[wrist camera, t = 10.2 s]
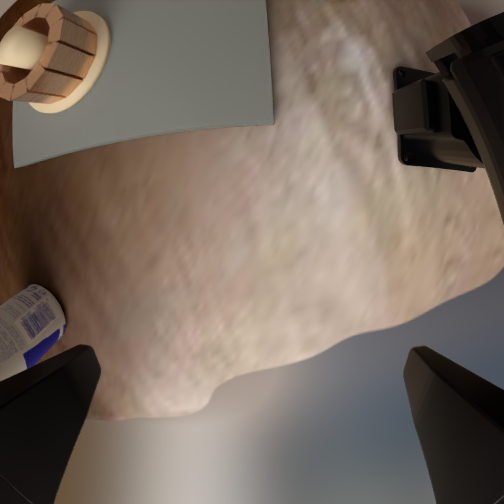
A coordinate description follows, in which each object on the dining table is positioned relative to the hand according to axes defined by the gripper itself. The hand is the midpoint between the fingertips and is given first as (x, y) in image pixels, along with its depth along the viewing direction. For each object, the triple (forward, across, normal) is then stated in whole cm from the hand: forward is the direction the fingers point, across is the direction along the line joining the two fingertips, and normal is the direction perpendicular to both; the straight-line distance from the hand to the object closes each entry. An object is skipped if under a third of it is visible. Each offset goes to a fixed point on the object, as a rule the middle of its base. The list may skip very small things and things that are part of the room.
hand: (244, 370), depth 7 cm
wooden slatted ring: (+10, +13, -14) cm, 22 cm away
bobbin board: (+12, +9, -14) cm, 20 cm away
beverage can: (+12, +20, +6) cm, 24 cm away
